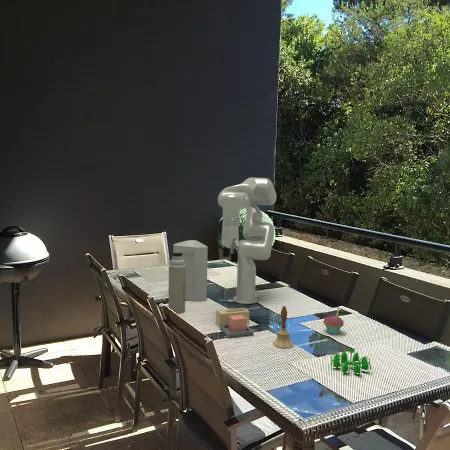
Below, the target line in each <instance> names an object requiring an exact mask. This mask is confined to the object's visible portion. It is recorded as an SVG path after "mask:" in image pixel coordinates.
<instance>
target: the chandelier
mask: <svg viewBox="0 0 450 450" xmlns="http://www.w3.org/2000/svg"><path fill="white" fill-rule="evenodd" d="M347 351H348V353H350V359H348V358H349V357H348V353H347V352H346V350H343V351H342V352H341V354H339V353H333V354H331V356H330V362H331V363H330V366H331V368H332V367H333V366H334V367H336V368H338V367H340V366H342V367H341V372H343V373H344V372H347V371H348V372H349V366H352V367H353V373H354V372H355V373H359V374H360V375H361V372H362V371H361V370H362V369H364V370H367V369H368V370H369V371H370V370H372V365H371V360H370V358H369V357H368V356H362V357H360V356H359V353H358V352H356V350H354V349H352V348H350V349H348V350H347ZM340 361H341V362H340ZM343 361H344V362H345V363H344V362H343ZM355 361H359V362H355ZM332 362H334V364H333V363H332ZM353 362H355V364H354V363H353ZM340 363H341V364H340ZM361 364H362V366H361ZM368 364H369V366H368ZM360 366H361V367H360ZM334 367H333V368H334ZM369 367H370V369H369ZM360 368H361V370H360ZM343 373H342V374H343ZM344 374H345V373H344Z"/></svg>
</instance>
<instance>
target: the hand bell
mask: <svg viewBox="0 0 450 450" xmlns="http://www.w3.org/2000/svg"><path fill="white" fill-rule="evenodd" d="M287 318H288V309H287V306H286V305H283V306H282V307H281V311H280V319H281V328H280V329H281V330H278V331H277V337H276V338H275V340H273V341H272V345H273V347H275V348H278V349H284V350H286V349H291V348H293V347H294V343H293V342H292V340H291V338H290V332H289V331H288V330H287V329H286V328H287V326H286V325H287V323H286V321H287Z"/></svg>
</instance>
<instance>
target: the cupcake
mask: <svg viewBox="0 0 450 450" xmlns="http://www.w3.org/2000/svg"><path fill="white" fill-rule="evenodd" d="M339 311H340V305H339V306H338V307H337V310H336V314H335V315H328V316H326V317H325V318H324V319H323V321H322V322H323V325H324V326H325V327H326V331H327V333H328V334H330V333H331V335H338V334H339V332H340V330H341V329H342V327H343V326H344V324H345V323H344V320H343V318H341V317H339ZM337 333H338V334H337Z"/></svg>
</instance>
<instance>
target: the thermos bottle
mask: <svg viewBox="0 0 450 450" xmlns="http://www.w3.org/2000/svg"><path fill="white" fill-rule="evenodd" d="M182 255H183V254H182V253H173V252H172V253H171V256H172V258H171V259H170V260H169V263H170V264H168V302H167V303H168V306H167V307H169V308H170V309H172V310H173V311H174V312H176V313H178V314H183V313H185V312H186V300H185V287H186V265H185V264H184V263H185V262H184V260H183V256H182ZM176 313H175V314H176Z"/></svg>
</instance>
